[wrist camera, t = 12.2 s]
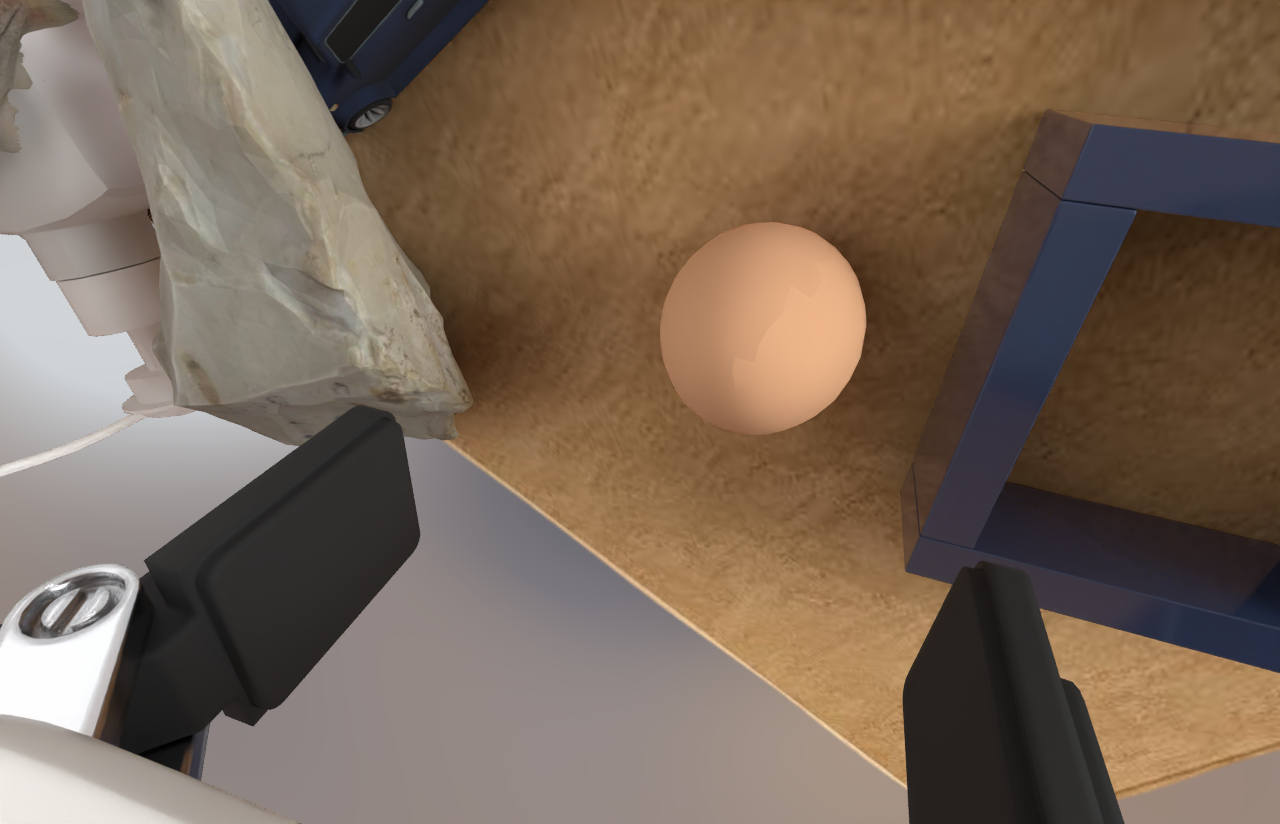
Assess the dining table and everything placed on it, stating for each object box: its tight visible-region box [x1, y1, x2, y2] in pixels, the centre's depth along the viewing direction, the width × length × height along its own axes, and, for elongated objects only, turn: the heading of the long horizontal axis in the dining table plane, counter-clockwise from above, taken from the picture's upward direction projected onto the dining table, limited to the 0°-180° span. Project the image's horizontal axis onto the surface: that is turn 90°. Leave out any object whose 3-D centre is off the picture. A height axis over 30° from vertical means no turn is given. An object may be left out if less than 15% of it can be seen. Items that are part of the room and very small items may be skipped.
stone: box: [82, 0, 474, 446], centre depth 21 cm, size 19×15×10 cm
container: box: [900, 109, 1280, 673], centre depth 17 cm, size 14×14×4 cm
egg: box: [660, 222, 867, 435], centre depth 18 cm, size 6×6×8 cm
